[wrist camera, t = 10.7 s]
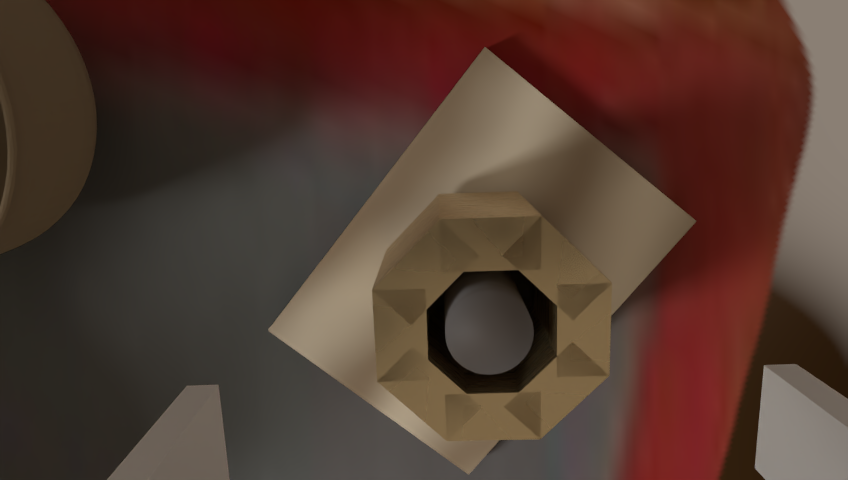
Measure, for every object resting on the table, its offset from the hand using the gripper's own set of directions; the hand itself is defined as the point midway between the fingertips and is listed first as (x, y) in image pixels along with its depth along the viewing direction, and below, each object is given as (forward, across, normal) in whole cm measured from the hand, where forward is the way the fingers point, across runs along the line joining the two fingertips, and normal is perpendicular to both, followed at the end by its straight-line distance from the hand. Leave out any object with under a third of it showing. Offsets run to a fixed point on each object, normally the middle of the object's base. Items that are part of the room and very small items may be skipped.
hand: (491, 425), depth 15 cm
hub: (+14, +1, 0) cm, 14 cm away
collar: (+12, +1, 0) cm, 12 cm away
